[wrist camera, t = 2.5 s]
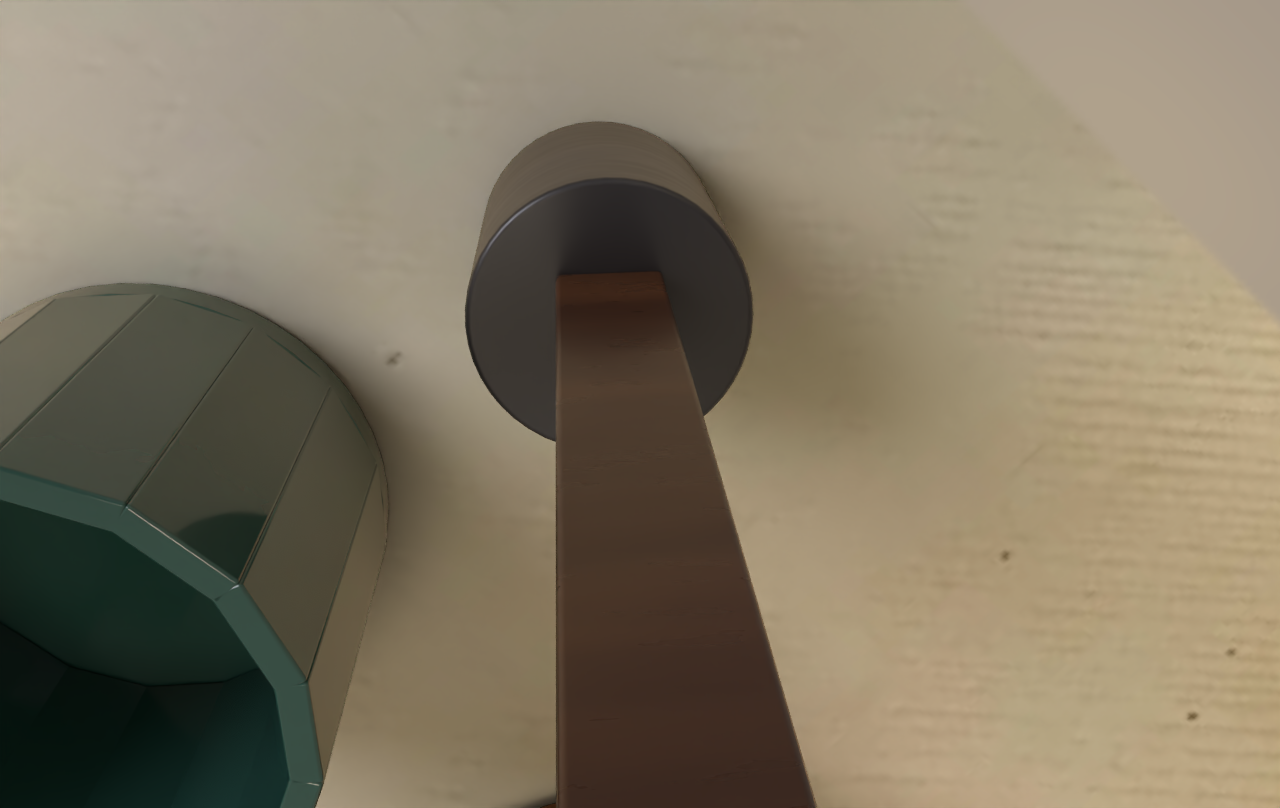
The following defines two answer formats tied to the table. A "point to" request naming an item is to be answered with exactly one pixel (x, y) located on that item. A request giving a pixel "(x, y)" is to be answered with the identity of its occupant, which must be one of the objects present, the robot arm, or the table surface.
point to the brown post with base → (635, 468)
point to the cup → (176, 553)
